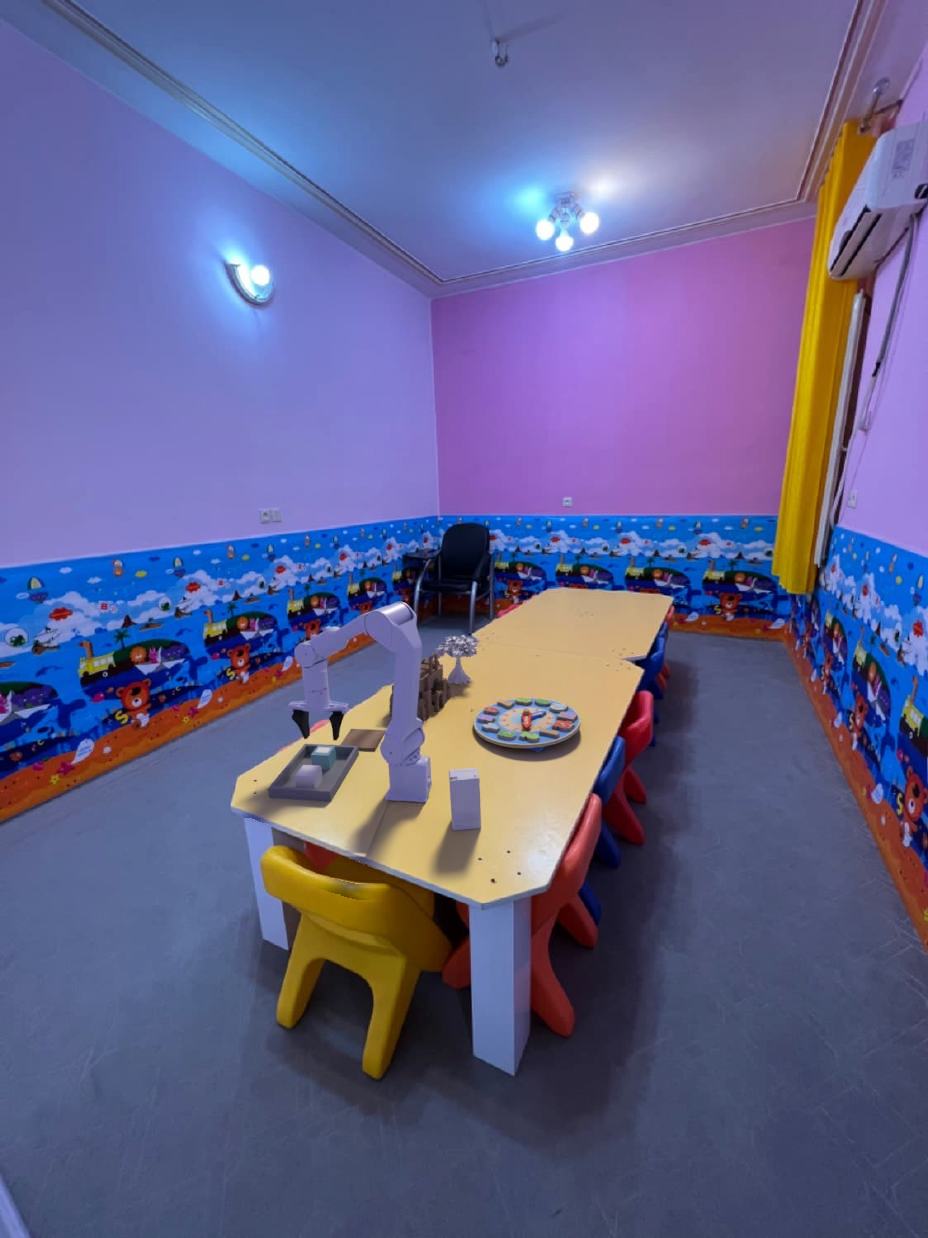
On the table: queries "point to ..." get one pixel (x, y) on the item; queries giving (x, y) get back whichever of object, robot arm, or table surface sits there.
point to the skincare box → (465, 798)
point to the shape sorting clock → (527, 723)
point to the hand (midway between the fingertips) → (321, 737)
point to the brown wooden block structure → (430, 688)
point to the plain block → (309, 776)
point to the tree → (457, 655)
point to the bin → (331, 778)
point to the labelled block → (324, 756)
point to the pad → (364, 738)
